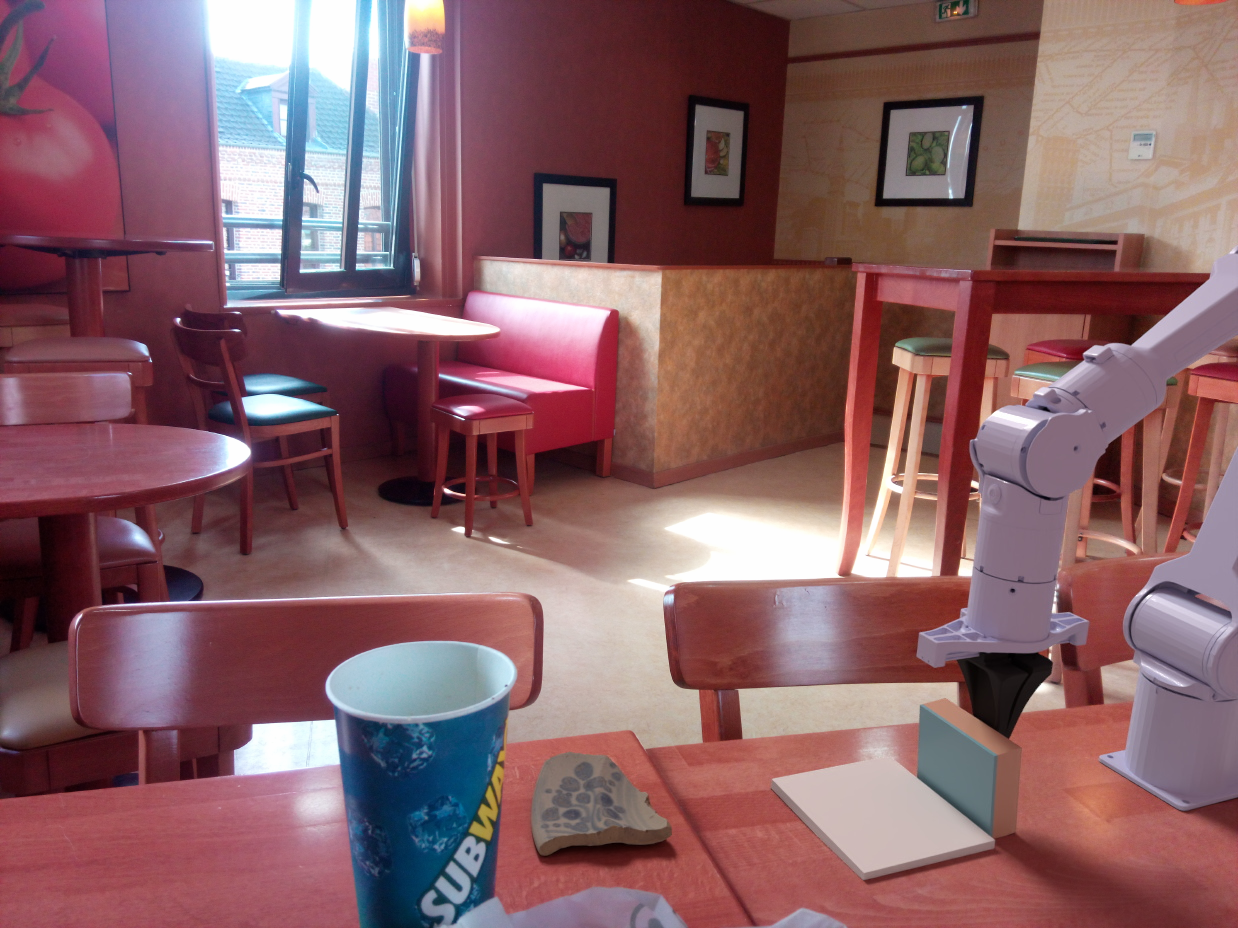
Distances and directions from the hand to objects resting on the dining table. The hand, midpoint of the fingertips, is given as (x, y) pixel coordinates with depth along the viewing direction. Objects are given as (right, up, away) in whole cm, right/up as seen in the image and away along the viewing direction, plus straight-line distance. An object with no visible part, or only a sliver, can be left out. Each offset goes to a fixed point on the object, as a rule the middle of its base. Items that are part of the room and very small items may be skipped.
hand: (990, 738), depth 71 cm
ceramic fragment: (-25, -5, -2) cm, 25 cm away
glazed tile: (-2, -5, +1) cm, 6 cm away
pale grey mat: (-9, -6, -1) cm, 11 cm away
